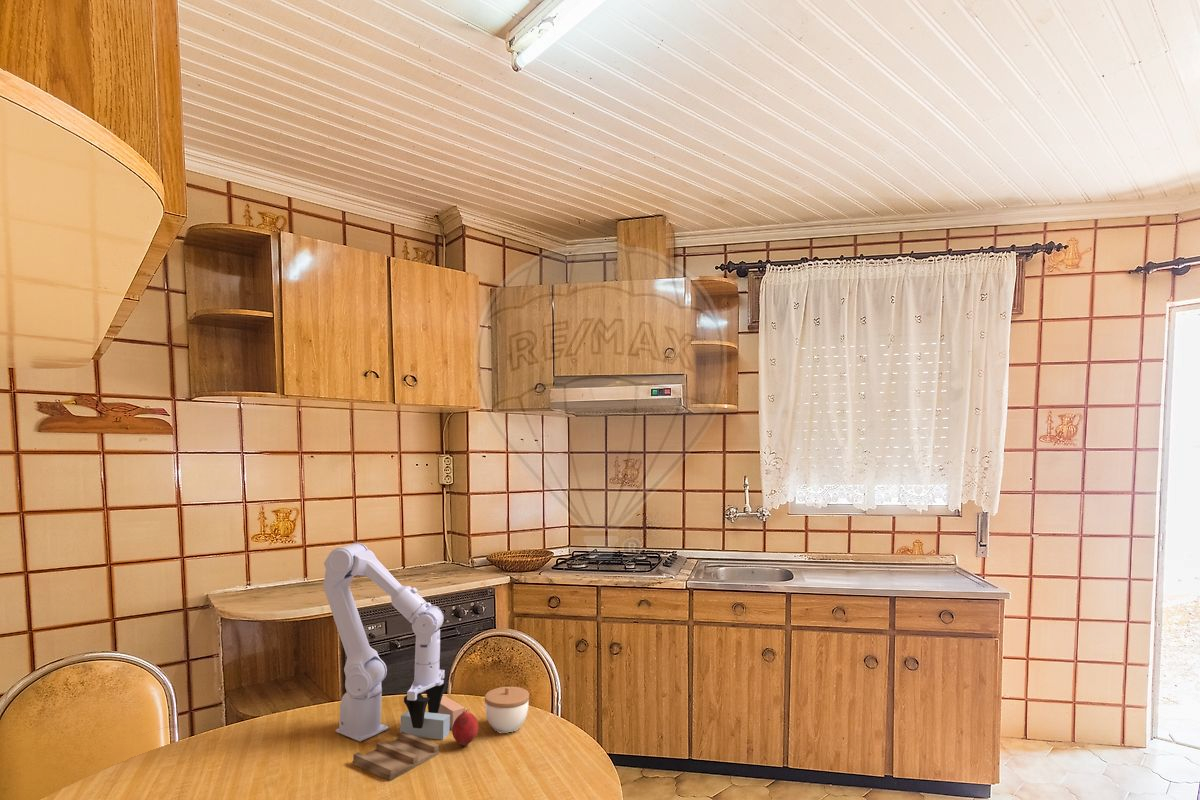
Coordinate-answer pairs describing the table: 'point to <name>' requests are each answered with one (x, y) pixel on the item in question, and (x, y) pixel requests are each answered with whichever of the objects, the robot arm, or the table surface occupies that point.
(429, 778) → the table surface
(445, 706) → the salmon pink block
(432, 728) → the grey-blue block
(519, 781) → the table surface
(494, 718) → the lidded jar
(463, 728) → the onion
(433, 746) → the walnut rack
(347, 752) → the table surface
